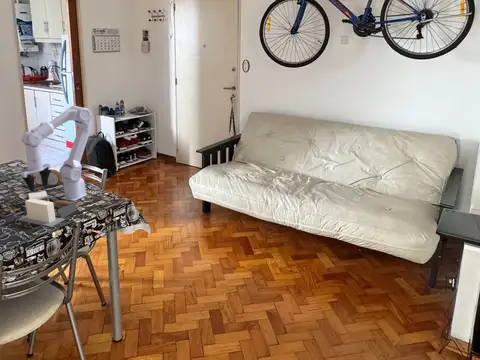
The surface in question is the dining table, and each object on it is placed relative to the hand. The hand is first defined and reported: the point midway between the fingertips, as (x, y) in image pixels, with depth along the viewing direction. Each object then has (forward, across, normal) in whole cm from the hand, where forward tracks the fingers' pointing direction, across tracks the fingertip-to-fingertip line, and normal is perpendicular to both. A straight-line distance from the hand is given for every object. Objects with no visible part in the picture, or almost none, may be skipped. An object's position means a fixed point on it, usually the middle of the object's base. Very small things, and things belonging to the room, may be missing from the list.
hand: (38, 187), depth 203 cm
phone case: (+10, -7, -8) cm, 15 cm away
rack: (+9, +2, +9) cm, 13 cm away
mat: (+9, +11, +11) cm, 18 cm away
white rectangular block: (+9, +11, +11) cm, 18 cm away
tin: (+10, -24, -20) cm, 33 cm away
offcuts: (+9, -5, +9) cm, 14 cm away
